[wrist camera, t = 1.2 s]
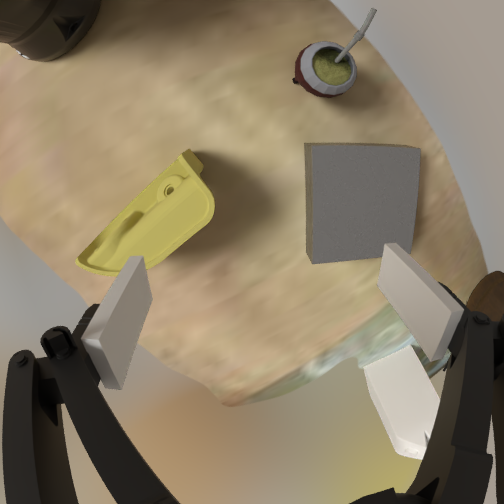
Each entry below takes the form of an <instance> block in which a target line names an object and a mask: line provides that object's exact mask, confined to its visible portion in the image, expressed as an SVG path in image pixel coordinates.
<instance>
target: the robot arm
mask: <svg viewBox="0 0 504 504" xmlns="http://www.w3.org/2000/svg"><path fill="white" fill-rule="evenodd" d="M100 1H101V0H0V42H2V43H8V44H9V45H10V46H11V47H13V48H15V49H16V51H17V52H18V53H19V54H20V55H21V56H22V57H24V58H26V59H29V60H34V61H41V62H42V61H49V60H52V59H55V58H57V57H59V56H61V55H63V54H65V53H66V52H68V51H69V50H70V49H71V48H73V47H74V46H75V45H76V44H77V43H78V42H79V41H80V40H81V39H82V38H83V37H84V35H85V34H86V33H87V31H88V30H89V29H90V27H91V25H92V24H93V22H94V20H95V18H96V16H97V13H98V10H99V7H100ZM377 286H378V288H379V289H380V290H381V292H382V293H383V294H384V296H385V297H386V298H387V300H388V301H389V302H390V304H391V305H392V307H393V308H394V309H395V311H396V312H397V313H398V315H399V316H400V318H401V319H402V320H403V322H404V323H405V325H406V326H407V328H408V329H409V330H410V332H411V333H412V335H413V336H414V338H415V339H416V341H417V342H418V344H419V345H420V347H421V348H422V350H423V351H424V353H425V354H426V356H427V357H428V359H429V360H430V362H432V361H435V360H439V359H442V358H443V357H444V355H445V353H446V351H447V349H449V350H450V352H451V355H450V357H449V359H448V361H447V363H446V365H445V367H444V369H443V371H445V370H446V369H447V371H446V377H445V381H444V387H443V391H442V395H441V399H440V404H439V407H438V411H437V415H436V419H435V422H434V426H433V429H432V433H431V436H430V439H429V442H428V445H427V448H426V451H425V454H424V457H423V460H422V462H421V465H420V468H419V470H418V473H417V475H416V478H415V480H414V481H413V483H412V485H411V486H410V488H409V489H408V490H407V492H406V493H395V491H394V488H390V489H387V490H384V491H381V492H377V493H374V494H371V495H367V496H364V497H362V498H360V499H358V500H356V501H354V502H352V503H350V504H483V503H484V499H485V495H486V492H487V488H488V483H489V478H490V474H491V469H492V464H493V456H492V454H487V452H486V449H487V443H488V437H489V430H490V421H491V414H492V422H493V430H494V441H495V455H496V456H495V458H496V497H497V504H504V314H503V316H502V318H501V320H500V321H491V319H490V318H489V317H488V316H487V315H486V314H484V313H482V312H479V311H472V312H471V311H470V310H469V309H468V308H467V307H466V306H465V305H464V303H463V302H462V301H461V300H460V299H459V298H457V296H456V295H455V294H454V293H452V291H451V290H450V289H449V288H448V287H447V286H445V285H443V284H442V283H440V282H437V281H436V280H435V279H434V278H433V277H432V276H431V275H430V274H429V273H428V272H427V271H426V270H425V269H424V268H423V267H421V266H420V265H419V264H418V263H417V262H416V261H415V260H414V259H413V258H412V257H411V256H410V255H409V254H408V253H406V252H405V251H404V250H403V249H402V248H401V247H400V246H399V245H398V244H397V243H385V245H384V251H383V257H382V262H381V268H380V273H379V278H378V283H377ZM152 300H153V298H152V294H151V290H150V285H149V281H148V276H147V271H146V267H145V262H144V257H143V256H130V257H129V259H128V260H127V262H126V263H125V265H124V266H123V268H122V270H121V271H120V273H119V274H118V276H117V277H116V279H115V281H114V282H113V284H112V286H111V287H110V289H109V290H108V292H107V294H106V295H105V297H104V299H103V300H102V302H101V304H93V305H92V306H91V307H90V308H88V309H87V310H86V311H85V313H84V315H83V316H82V319H81V320H80V321H79V323H78V325H77V326H76V328H75V330H74V331H73V333H72V334H71V332H70V330H69V329H68V328H67V327H64V326H57V327H53V328H51V329H49V330H47V331H46V332H45V333H44V334H43V335H42V338H41V345H42V347H43V349H44V351H45V353H46V354H47V356H48V357H43V358H35V356H34V354H33V353H32V352H31V351H29V350H21V351H19V352H17V353H15V354H14V355H13V356H12V358H11V359H10V361H9V365H8V372H7V379H6V388H5V398H4V410H3V434H2V438H3V439H2V450H3V474H4V485H5V495H6V503H7V504H79V503H78V500H77V496H76V492H75V488H74V484H73V479H72V475H71V470H70V465H69V460H68V455H67V448H66V442H65V436H64V428H63V420H62V410H61V404H63V403H65V405H66V408H67V410H68V412H69V415H70V417H71V420H72V422H73V424H74V426H75V428H76V431H77V433H78V435H79V437H80V439H81V441H82V443H83V445H84V447H85V449H86V451H87V453H88V455H89V457H90V459H91V461H92V463H93V464H94V466H95V468H96V470H97V472H98V473H99V475H100V477H101V478H102V480H103V482H104V483H105V485H106V487H107V488H108V490H109V492H110V493H111V494H112V496H113V498H114V499H115V501H116V502H117V504H180V503H179V502H178V501H177V499H176V498H175V497H174V496H173V495H172V494H171V493H170V491H169V490H168V489H167V488H166V487H165V486H164V484H163V483H162V482H161V481H160V479H159V478H158V477H157V476H156V474H155V473H154V472H153V470H152V469H151V468H150V467H149V465H148V464H147V463H146V461H145V460H144V459H143V457H142V456H141V454H140V453H139V452H138V450H137V449H136V447H135V446H134V445H133V443H132V442H131V440H130V439H129V437H128V436H127V434H126V433H125V431H124V430H123V428H122V427H121V425H120V423H119V422H118V420H117V419H116V417H115V416H114V414H113V412H112V410H111V409H110V407H109V406H108V404H107V402H106V400H105V399H104V397H103V395H102V393H101V391H100V390H99V388H98V384H99V382H100V379H101V381H102V383H103V385H104V387H105V388H108V389H118V390H121V389H122V387H123V384H124V381H125V378H126V375H127V371H128V368H129V365H130V362H131V359H132V356H133V353H134V350H135V347H136V344H137V341H138V338H139V336H140V333H141V330H142V327H143V324H144V321H145V319H146V316H147V313H148V310H149V308H150V305H151V302H152Z"/></svg>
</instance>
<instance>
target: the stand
mask: <svg viewBox="0 0 504 504" xmlns="http://www.w3.org/2000/svg"><path fill="white" fill-rule="evenodd" d="M304 148H305V180H306V253H307V255H308V257H309V259H310V261H311V263H312V264H320V263H330V262H340V261H349V260H359V259H368V258H378V257H383V251H384V245H385V243H397V244H398V245H399V246H400V247H401V248H402V249H403V250H404V251H405V252H406V253H408V254H411V247H412V241H413V234H414V226H415V218H416V209H417V199H418V188H419V173H420V150H421V149H420V148H416V147H411V146H407V145H394V144H373V143H304Z"/></svg>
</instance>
